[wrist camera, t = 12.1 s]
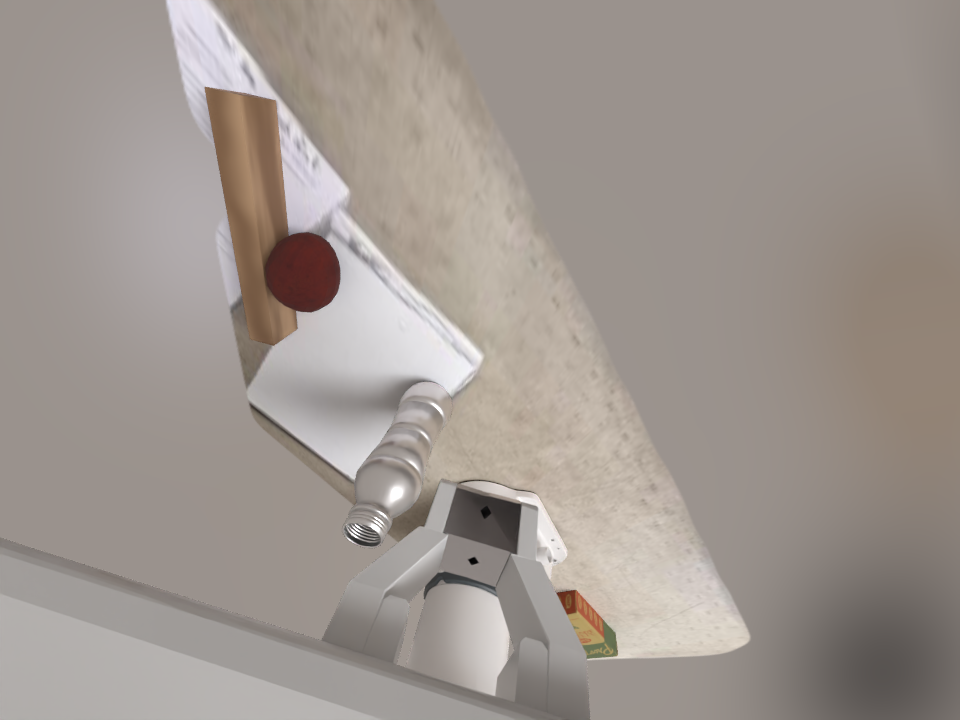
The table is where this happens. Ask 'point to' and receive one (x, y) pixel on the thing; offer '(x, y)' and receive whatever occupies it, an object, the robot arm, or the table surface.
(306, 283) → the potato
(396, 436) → the plastic bottle
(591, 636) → the carton
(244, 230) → the board
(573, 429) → the table surface
